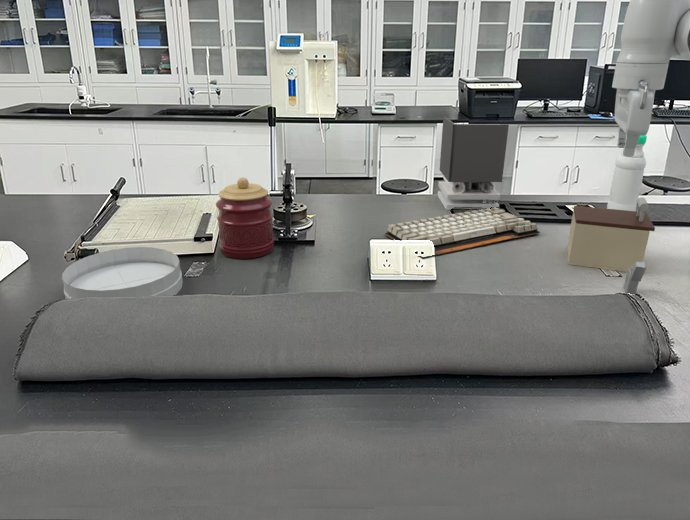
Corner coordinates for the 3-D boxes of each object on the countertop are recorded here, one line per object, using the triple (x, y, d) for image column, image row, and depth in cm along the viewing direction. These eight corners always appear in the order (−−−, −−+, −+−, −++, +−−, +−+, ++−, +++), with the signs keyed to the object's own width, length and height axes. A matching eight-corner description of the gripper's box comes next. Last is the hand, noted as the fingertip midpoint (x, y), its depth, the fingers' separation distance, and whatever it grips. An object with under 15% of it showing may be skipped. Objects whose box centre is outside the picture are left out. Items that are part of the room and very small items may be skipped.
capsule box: (632, 254, 126) (641, 215, 122) (639, 273, 116) (649, 231, 112) (566, 247, 131) (573, 209, 127) (568, 264, 120) (575, 223, 117)
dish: (166, 260, 122) (163, 240, 120) (197, 297, 104) (195, 273, 103) (59, 282, 111) (54, 260, 109) (74, 326, 93) (68, 301, 92)
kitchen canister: (247, 236, 137) (242, 168, 130) (285, 247, 130) (282, 176, 123) (208, 251, 127) (201, 179, 120) (247, 264, 120) (242, 188, 113)
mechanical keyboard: (423, 258, 123) (424, 245, 122) (381, 234, 139) (381, 222, 137) (542, 235, 139) (544, 222, 138) (492, 215, 155) (493, 204, 153)
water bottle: (636, 228, 144) (658, 134, 134) (622, 233, 140) (643, 137, 131) (612, 221, 149) (630, 131, 140) (597, 225, 146) (615, 133, 136)
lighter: (623, 286, 110) (631, 250, 107) (632, 287, 109) (640, 251, 106) (627, 301, 103) (636, 263, 100) (637, 302, 103) (646, 264, 100)
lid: (645, 215, 122) (650, 194, 120) (654, 231, 112) (659, 208, 110) (573, 208, 127) (577, 188, 125) (575, 223, 117) (579, 201, 115)
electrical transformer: (446, 209, 159) (453, 124, 149) (435, 192, 177) (441, 115, 167) (498, 209, 159) (508, 124, 149) (483, 192, 177) (491, 115, 167)
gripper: (668, 83, 91) (651, 163, 96) (648, 76, 109) (635, 143, 114) (627, 82, 93) (612, 160, 98) (614, 75, 111) (603, 142, 116)
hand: (624, 151), depth 106 cm, fingers open, 8 cm apart
